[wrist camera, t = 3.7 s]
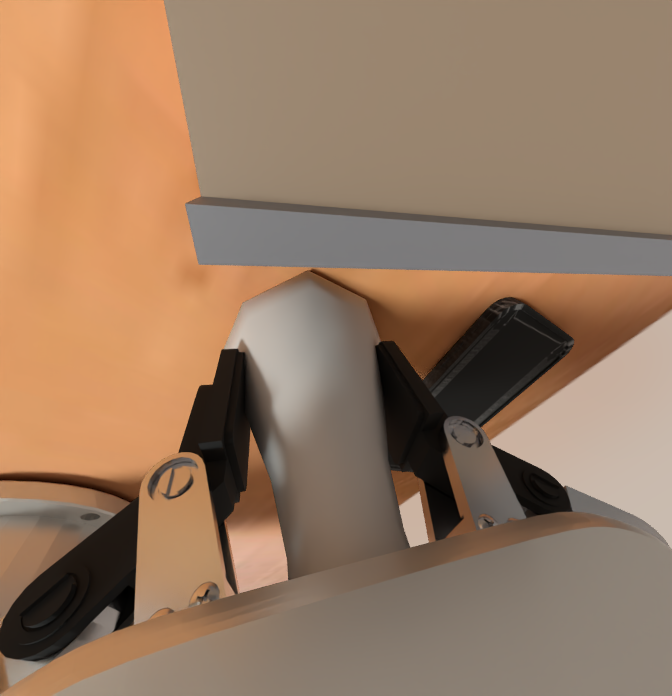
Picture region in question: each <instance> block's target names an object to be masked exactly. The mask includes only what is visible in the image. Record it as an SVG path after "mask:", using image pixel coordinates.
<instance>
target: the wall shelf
mask: <svg viewBox="0 0 672 696" xmlns="http://www.w3.org/2000/svg"><path fill="white" fill-rule="evenodd" d="M164 4H165V9H166V14H167V20H168V25H169V30H170V35H171V41H172V46H173V51H174V56H175V62H176V67H177V72H178V77H179V83H180V88H181V93H182V99H183V104H184V109H185V114H186V120H187V125H188V130H189V135H190V141H191V146H192V151H193V156H194V162H195V167H196V172H197V177H198V183H199V188H200V193H201V197H199V198H196V199H194V200H192V201H190V202H188V203H185V206H186V210H187V215H188V219H189V223H190V228H191V232H192V237H193V241H194V246H195V250H196V254H197V259H198V263H199V264H200V265H241V266H282V267H324V268H365V269H406V270H447V271H489V272H530V273H571V274H612V275H654V276H672V0H164Z"/></svg>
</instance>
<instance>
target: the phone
mask: <svg viewBox="0 0 672 696" xmlns="http://www.w3.org/2000/svg"><path fill="white" fill-rule="evenodd" d="M573 345H574V339H573V338H572V337H571V336H569V335H568V334H567V333H565V332H564V331H562V330H561V329H560V328H558V327H557V326H556V325H554V324H553V323H551V322H550V321H549V320H547V319H546V318H544V317H543V316H542V315H540V314H539V313H538V312H536V311H535V310H533V309H532V308H531V307H529V306H528V305H526V304H524V303H522V302H521V301H519V300H517V299H515V298H512V297H508V298H503V299H500V300H498V301H497V302H495V303H493V304H492V305H491V306H490V307H489V308H488V309H487V310H486V311H485V312H484V313H483V314H482V315H481V316H480V317H479V319H478V320H477V321H476V322H475V323H474V324H473V325H472V326H471V327H470V329H469V330H468V331H467V332H466V333H465V334H464V335H463V336H462V337H461V339H460V340H459V341H458V342H457V343H456V344H455V345H454V346H453V347H452V349H451V350H450V351H449V352H448V353H447V354H446V355H445V356H444V357H443V359H442V360H441V361H440V362H439V363H438V364H437V365H436V366H435V367H434V369H433V370H432V371H431V372H430V373H429V374H428V375H427V376H426V377H425V379H424V380H423V382H424V384H425V385H426V387H427V388H428V389H429V391H430V392H431V394H432V395H433V396H434V398H435V399H436V401H437V402H438V403H439V405H440V406H441V408H442V409H443V410H444V412H445V413H446V415H447V416H448V417H452V416H460V417H464V418H467V419H469V420H471V421H473V422H474V423H476V424H477V425H479V426H480V427H482V426H483V425H484V424H485V423H487V422H488V421H489V420H490V419H491V418H493V417H494V416H495V415H496V414H497V413H498V412H500V411H501V410H502V409H503V408H504V407H506V406H507V405H508V404H509V403H510V402H511V401H513V400H514V399H515V398H516V397H517V396H519V395H520V394H521V393H522V392H523V391H524V390H526V389H527V388H528V387H529V386H530V385H532V384H533V383H534V382H535V381H536V380H537V379H539V378H540V377H541V376H542V375H543V374H545V373H546V372H547V371H548V370H549V369H551V368H552V367H553V366H554V365H555V364H556V363H558V362H559V361H560V360H561V359H562V358H564V357H565V356H566V355H567V354H568V353H569V351H570V350H571V349H572V347H573ZM387 448H388V447H387ZM388 461H389V465H390V470H394V471H401V469H400V467H399V464H395V463H394V461H393V459H392V457H391V454H390V452H389V450H388ZM406 472H413V470H410V471H406Z"/></svg>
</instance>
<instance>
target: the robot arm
mask: <svg viewBox="0 0 672 696" xmlns="http://www.w3.org/2000/svg"><path fill="white" fill-rule="evenodd" d="M375 348H376V354H377V360H378V365H379V371H380V377H381V383H382V388H383V394H384V403H385V418H386V433H387V447H388V450H389V452H390V454H391V457H392V459H393V461H394V463H395V464H399V467H400V469H401V471H402V472H405V471H410V470H413V472H414V474H415V476H416V477H417V480H418V485H419V491H420V495H421V502H422V507H423V513H424V518H425V523H426V529H427V535H428V540H429V543H427V544H423V545H419V546H415V547H411V548H408V549H404V550H400V551H396V552H392V553H389V554H385V555H381V556H377V557H374V558H370V559H366V560H362V561H358V562H355V563H351V564H347V565H343V566H340V567H336V568H332V569H328V570H325V571H321V572H317V573H313V574H310V575H306V576H302V577H299V578H295V579H291V580H287V581H284V582H280V583H276V584H273V585H269V586H265V587H261V588H258V589H254V590H250V591H247V592H243V593H240V591H239V586H238V581H237V576H236V571H235V565H234V560H233V555H232V550H231V545H230V540H229V535H228V530H227V524H226V518H227V517H228V516H229V515H230V514H231V513H232V512H233V510H234V503H237V502H239V501H240V492H243V491H246V487H247V472H248V457H249V442H250V425H249V422H248V420H247V417H246V414H245V367H244V352H239V350H238V348H237V349H222V351H221V354H220V358H219V362H218V366H217V370H216V374H215V378H214V382H213V385H201V386H200V387H199V389H198V391H197V395H196V398H195V401H194V404H193V407H192V411H191V414H190V417H189V420H188V423H187V427H186V430H185V433H184V436H183V439H182V443H181V446H180V449H179V452H178V453H177V454H173V455H171V456H169V457H166V458H164V459H163V460H161V461H160V462H158V463H157V464H156V465H154V466H153V467H152V469H151V470H150V471H149V472H148V473H147V474H146V476H145V478H144V479H143V481H142V483H141V488H140V492H139V497H137V498H136V499H135V500H134V501H132V502H131V503H130V502H128V501H126V500H123V499H121V498H119V497H117V496H114V495H111V494H108V493H104V492H101V491H97V490H94V489H89V488H84V487H79V486H73V485H68V484H58V483H49V482H40V481H12V480H2V481H0V696H672V549H671V548H670V547H669V545H668V544H667V542H666V541H665V539H664V538H663V537H662V536H661V535H660V534H659V533H658V532H657V531H656V530H655V529H654V528H652V527H651V526H650V525H649V524H647V523H646V522H645V521H643V520H642V519H640V518H638V517H636V516H634V515H632V514H630V513H627V512H625V511H623V510H621V509H618V508H616V507H614V506H612V505H609V504H607V503H605V502H602V501H600V500H598V499H595V498H593V497H591V496H588V495H586V494H584V493H582V492H579V491H577V490H575V489H573V488H570V487H568V486H565V487H563V486H562V485H561V484H560V483H559V482H558V481H557V480H556V479H555V478H554V477H552V476H551V475H550V474H548V473H547V472H545V471H543V470H542V469H540V468H538V467H536V466H534V465H532V464H530V463H528V462H525V461H523V460H521V459H519V458H517V457H515V456H513V455H511V454H509V453H507V452H505V451H503V450H501V449H499V448H497V447H495V446H493V445H491V443H490V441H489V439H488V437H487V435H486V434H485V432H484V431H483V429H482V428H481V427H480V426H479V425H477V424H476V423H474V422H473V421H471V420H469V419H467V418H464V417H460V416H452V417H448V416H447V415H446V413H445V412H444V410H443V409H442V408H441V406H440V405H439V403H438V402H437V401H436V399H435V398H434V396H433V395H432V394H431V392H430V391H429V389H428V388H427V387H426V385H425V384H424V382H423V381H422V380H421V378H420V377H419V376H418V374H417V373H416V372H415V370H414V369H413V367H412V366H411V365H410V363H409V362H408V360H407V359H406V358H405V356H404V355H403V353H402V352H401V351H400V349H399V348H398V346H397V345H396V344H395V342H394V341H381V342H379V344H378V345H376V346H375ZM133 621H134V625H132V626H130V624H131V623H132V622H133ZM129 626H130V627H129Z"/></svg>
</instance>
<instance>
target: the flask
mask: <svg viewBox="0 0 672 696" xmlns="http://www.w3.org/2000/svg"><path fill="white" fill-rule="evenodd" d="M379 342H381V340H380V337H379V334H378V331H377V329H376V326H375V323H374V320H373V318H372V315H371V312H370V309H369V306H368V304H367V301H366V299H364V298H362V297H360V296H358V295H356V294H354V293H352V292H350V291H348V290H346V289H344V288H342V287H340V286H338V285H336V284H334V283H332V282H330V281H328V280H326V279H324V278H322V277H320V276H318V275H316V274H314V273H312V272H310V271H308V270H307V271H305V272H303V273H301V274H299V275H297V276H295V277H293V278H291V279H289V280H287V281H285V282H283V283H281V284H279V285H277V286H275V287H273V288H271V289H269V290H267V291H265V292H263V293H261V294H259V295H257V296H255V297H253V298H251V299H249V300H247V301H245V302H243V303H242V306H241V308H240V310H239V313H238V315H237V318H236V320H235V323H234V325H233V328H232V330H231V332H230V335H229V337H228V340H227V342H226V345H225V347H224V349H237V348H238V350H239V352H244V367H245V414H246V417H247V420H248V422H249V425H250V427H251V430H252V433H253V435H254V438H255V440H256V443H257V446H258V448H259V451H260V453H261V456H262V459H263V461H264V464H265V466H266V469H267V472H268V474H269V477H270V479H271V483H272V488H273V493H274V498H275V503H276V507H277V512H278V517H279V522H280V527H281V532H282V537H283V542H284V547H285V551H286V556H287V565H288V580H291V579H295V578H299V577H302V576H306V575H310V574H313V573H317V572H321V571H325V570H328V569H332V568H336V567H340V566H343V565H347V564H351V563H355V562H358V561H362V560H366V559H370V558H374V557H377V556H381V555H385V554H389V553H392V552H396V551H400V550H404V549H408V548H410V546H409V543H408V540H407V537H406V535H405V532H404V528H403V524H402V519H401V515H400V510H399V506H398V501H397V497H396V492H395V488H394V483H393V479H392V474H391V470H390V465H389V461H388V448H387V433H386V418H385V403H384V394H383V388H382V383H381V377H380V371H379V365H378V360H377V354H376V348H375V346H376V345H378V344H379Z"/></svg>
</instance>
